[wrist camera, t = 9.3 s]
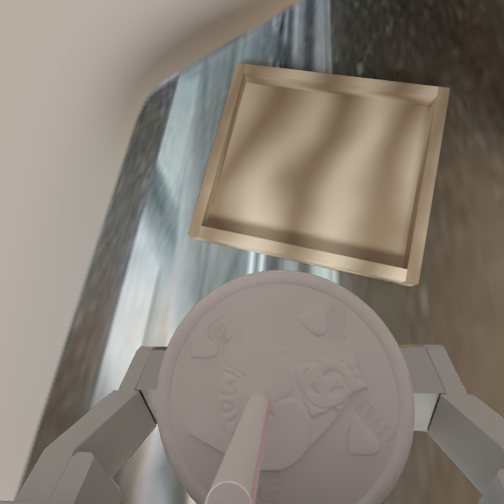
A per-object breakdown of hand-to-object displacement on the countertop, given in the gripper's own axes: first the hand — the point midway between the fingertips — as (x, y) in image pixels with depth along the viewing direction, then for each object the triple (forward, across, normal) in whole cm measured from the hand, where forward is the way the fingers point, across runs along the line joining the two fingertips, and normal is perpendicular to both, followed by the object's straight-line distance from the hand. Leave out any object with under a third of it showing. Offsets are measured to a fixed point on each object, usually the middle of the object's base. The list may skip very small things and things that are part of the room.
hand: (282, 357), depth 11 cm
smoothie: (+5, 0, +6) cm, 7 cm away
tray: (+24, -3, +3) cm, 24 cm away
